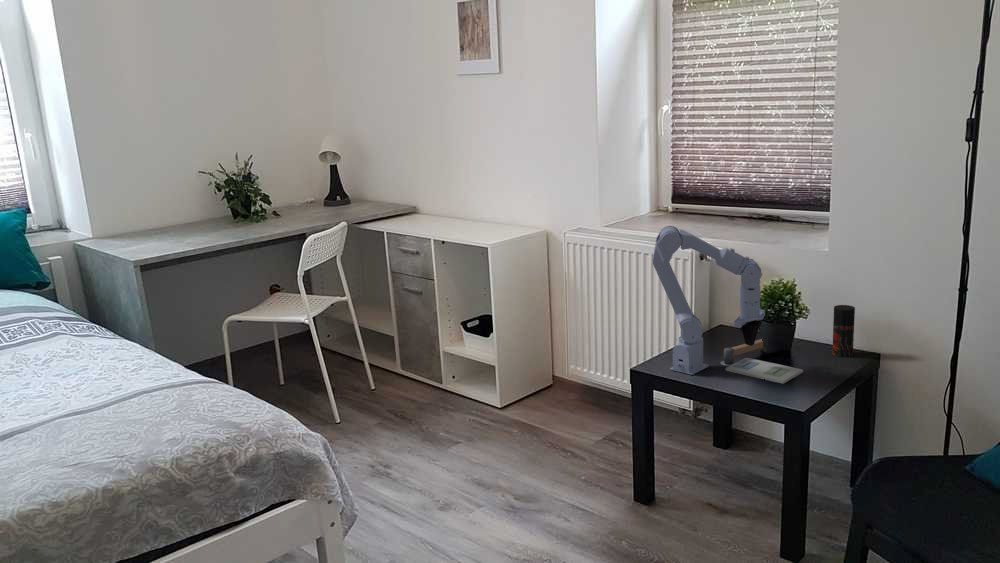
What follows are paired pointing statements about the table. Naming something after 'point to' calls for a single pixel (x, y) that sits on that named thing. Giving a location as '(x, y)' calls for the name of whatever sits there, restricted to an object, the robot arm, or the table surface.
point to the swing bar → (740, 350)
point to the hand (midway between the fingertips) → (749, 344)
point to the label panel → (763, 370)
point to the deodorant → (843, 330)
